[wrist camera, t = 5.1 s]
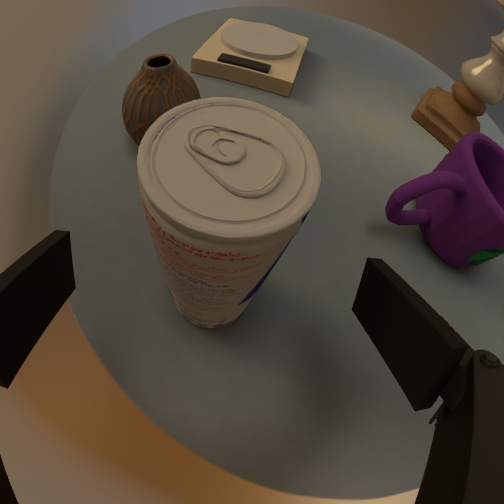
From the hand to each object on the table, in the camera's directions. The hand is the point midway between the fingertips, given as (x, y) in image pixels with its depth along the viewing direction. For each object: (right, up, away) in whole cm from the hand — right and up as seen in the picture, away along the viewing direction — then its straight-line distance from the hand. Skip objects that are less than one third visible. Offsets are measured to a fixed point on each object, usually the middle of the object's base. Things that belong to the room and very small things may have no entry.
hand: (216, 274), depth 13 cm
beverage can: (-2, -2, +10) cm, 10 cm away
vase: (-7, +12, +14) cm, 20 cm away
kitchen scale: (+2, +27, +22) cm, 34 cm away
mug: (+20, +3, +16) cm, 26 cm away
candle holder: (+31, +20, +25) cm, 44 cm away
